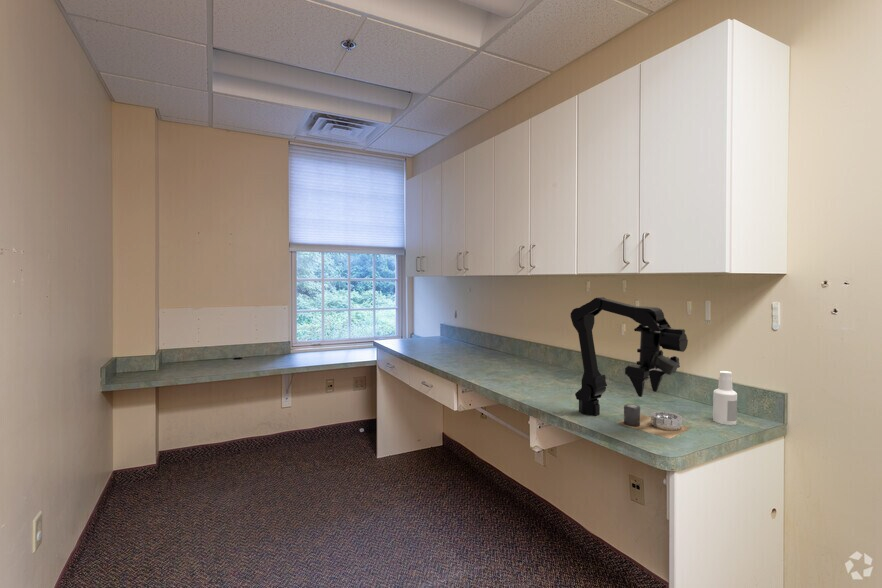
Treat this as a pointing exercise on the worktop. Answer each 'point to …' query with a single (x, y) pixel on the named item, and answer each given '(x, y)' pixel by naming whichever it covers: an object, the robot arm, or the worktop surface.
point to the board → (646, 426)
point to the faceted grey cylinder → (666, 421)
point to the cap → (631, 415)
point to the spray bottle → (725, 400)
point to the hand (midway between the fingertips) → (647, 394)
